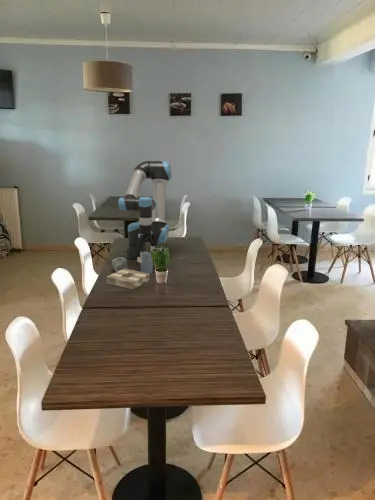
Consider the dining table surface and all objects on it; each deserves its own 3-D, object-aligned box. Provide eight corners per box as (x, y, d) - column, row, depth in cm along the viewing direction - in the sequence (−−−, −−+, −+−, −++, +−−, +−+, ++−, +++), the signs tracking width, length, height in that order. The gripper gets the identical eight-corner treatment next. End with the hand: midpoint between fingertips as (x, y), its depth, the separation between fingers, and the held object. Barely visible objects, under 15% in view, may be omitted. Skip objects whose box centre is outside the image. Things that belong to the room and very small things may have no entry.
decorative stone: (127, 274, 246) (132, 259, 249) (109, 269, 243) (114, 253, 247) (124, 278, 258) (128, 263, 261) (107, 273, 255) (111, 258, 259)
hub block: (124, 275, 246) (124, 268, 245) (149, 280, 237) (149, 273, 236) (106, 283, 232) (106, 276, 231) (133, 289, 224) (132, 282, 223)
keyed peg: (144, 271, 253) (144, 250, 249) (152, 272, 250) (152, 252, 247) (140, 272, 250) (140, 252, 246) (149, 274, 247) (148, 253, 243)
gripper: (152, 219, 254) (152, 253, 260) (127, 227, 233) (128, 263, 238) (162, 221, 250) (163, 255, 256) (138, 228, 229) (139, 265, 235)
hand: (146, 259), depth 247 cm, fingers open, 13 cm apart
